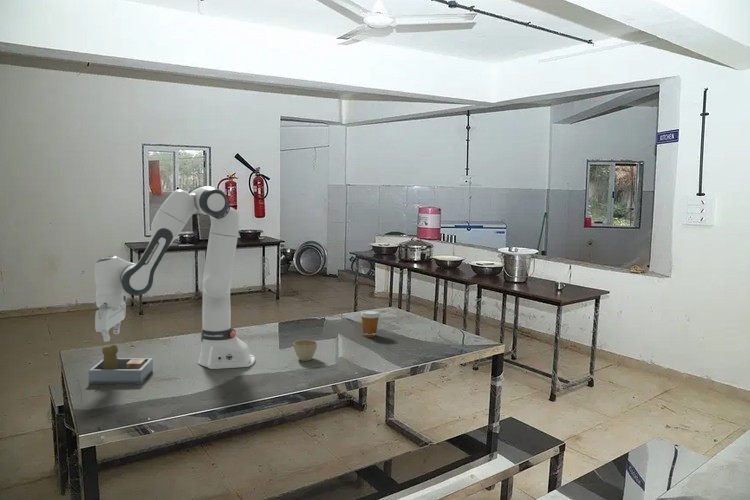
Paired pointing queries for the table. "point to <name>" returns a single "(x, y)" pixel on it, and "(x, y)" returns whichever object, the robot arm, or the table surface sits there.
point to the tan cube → (135, 363)
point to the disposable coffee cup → (369, 321)
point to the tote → (120, 373)
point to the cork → (110, 357)
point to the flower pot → (305, 349)
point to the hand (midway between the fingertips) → (111, 337)
